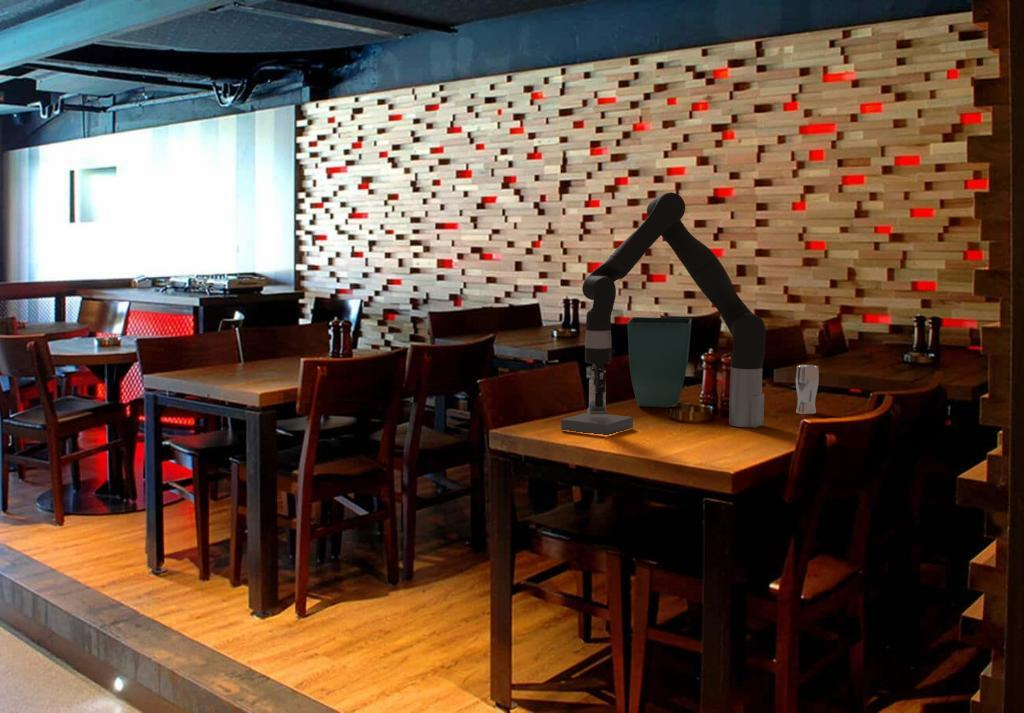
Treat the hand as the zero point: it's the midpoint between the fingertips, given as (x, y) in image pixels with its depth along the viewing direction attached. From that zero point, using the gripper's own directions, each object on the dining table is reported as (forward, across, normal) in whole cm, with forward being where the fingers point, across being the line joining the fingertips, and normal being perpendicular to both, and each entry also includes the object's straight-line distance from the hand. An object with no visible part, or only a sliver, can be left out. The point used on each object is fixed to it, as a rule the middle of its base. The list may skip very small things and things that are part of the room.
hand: (597, 404), depth 293 cm
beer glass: (+8, +25, -71) cm, 76 cm away
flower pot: (+8, +44, -27) cm, 52 cm away
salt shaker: (+2, 0, 0) cm, 2 cm away
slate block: (+8, 0, 0) cm, 8 cm away
